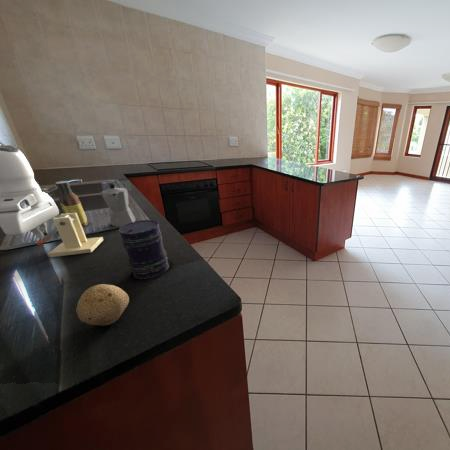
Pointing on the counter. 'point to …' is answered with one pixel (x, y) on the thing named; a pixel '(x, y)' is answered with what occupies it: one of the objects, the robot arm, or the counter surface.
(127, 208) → the coffeepot
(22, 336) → the counter surface
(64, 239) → the bracket
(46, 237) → the lever
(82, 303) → the potato
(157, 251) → the storage jar
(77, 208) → the sauce bottle
